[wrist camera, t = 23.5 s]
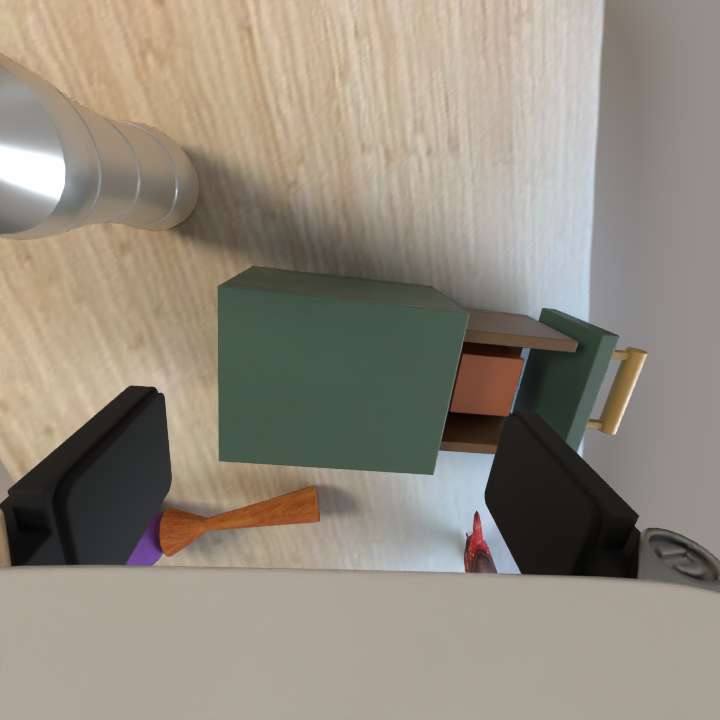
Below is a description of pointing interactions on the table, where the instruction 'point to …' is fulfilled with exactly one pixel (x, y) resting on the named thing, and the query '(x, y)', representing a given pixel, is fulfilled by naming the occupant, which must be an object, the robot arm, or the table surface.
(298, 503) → the kendama
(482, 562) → the decorative bird figurine
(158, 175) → the silver metal bottle
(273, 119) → the table surface
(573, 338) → the drawer
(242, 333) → the cabinet
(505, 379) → the block
